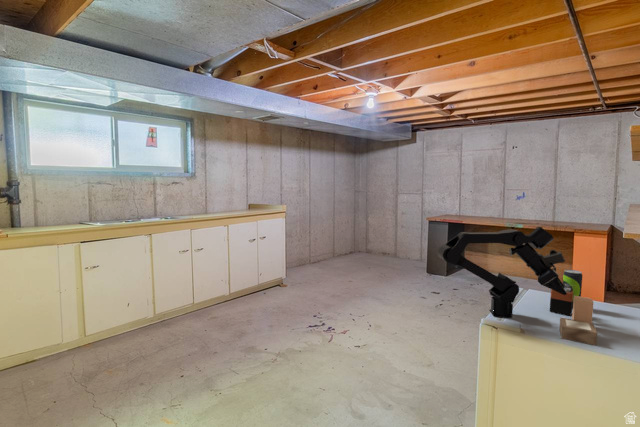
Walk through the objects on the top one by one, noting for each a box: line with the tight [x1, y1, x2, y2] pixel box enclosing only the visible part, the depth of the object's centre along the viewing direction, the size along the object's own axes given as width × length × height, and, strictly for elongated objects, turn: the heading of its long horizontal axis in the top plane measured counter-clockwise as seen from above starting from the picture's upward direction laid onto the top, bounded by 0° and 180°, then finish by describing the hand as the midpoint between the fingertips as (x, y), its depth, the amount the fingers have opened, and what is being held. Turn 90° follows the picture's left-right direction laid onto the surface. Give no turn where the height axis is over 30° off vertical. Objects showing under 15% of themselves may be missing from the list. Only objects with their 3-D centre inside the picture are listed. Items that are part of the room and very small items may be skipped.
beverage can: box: [562, 269, 583, 310], centre depth 141 cm, size 6×6×15 cm
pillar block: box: [571, 296, 594, 323], centre depth 122 cm, size 5×5×10 cm
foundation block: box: [559, 317, 598, 346], centre depth 114 cm, size 9×9×4 cm
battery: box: [549, 288, 574, 317], centre depth 135 cm, size 4×7×10 cm, turn 47°
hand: (564, 291), depth 124 cm, fingers open, 9 cm apart
